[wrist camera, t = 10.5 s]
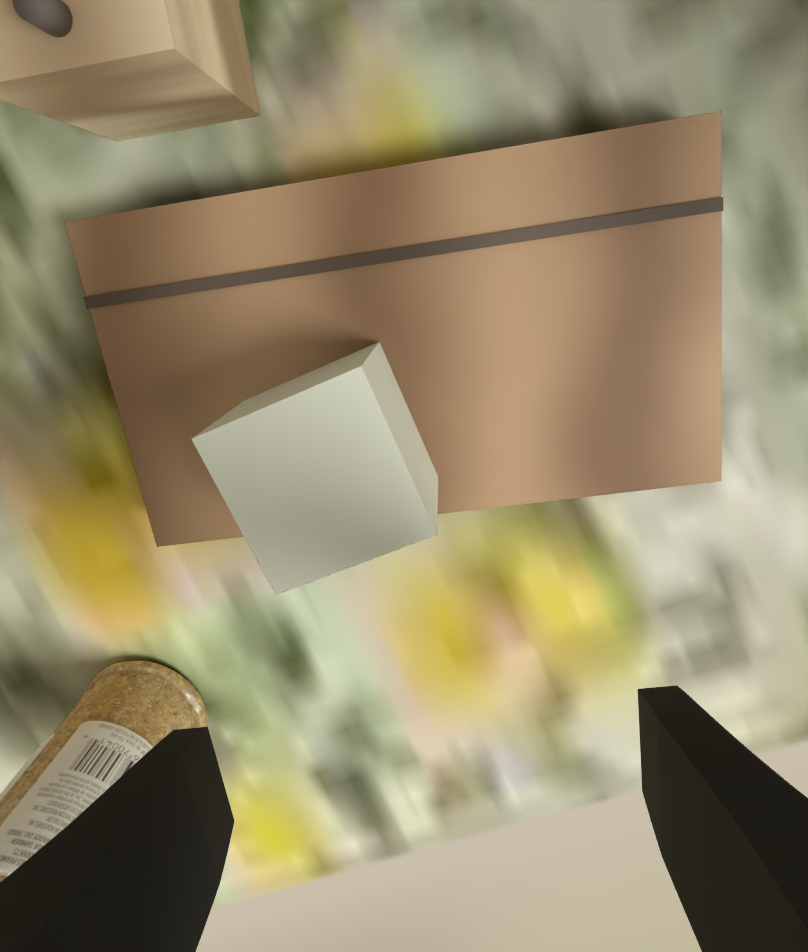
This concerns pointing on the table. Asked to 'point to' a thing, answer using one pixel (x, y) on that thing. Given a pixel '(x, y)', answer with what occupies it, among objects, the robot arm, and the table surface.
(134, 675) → the sprinkles bottle
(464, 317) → the plank
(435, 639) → the table surface
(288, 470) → the offcut block
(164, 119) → the block
